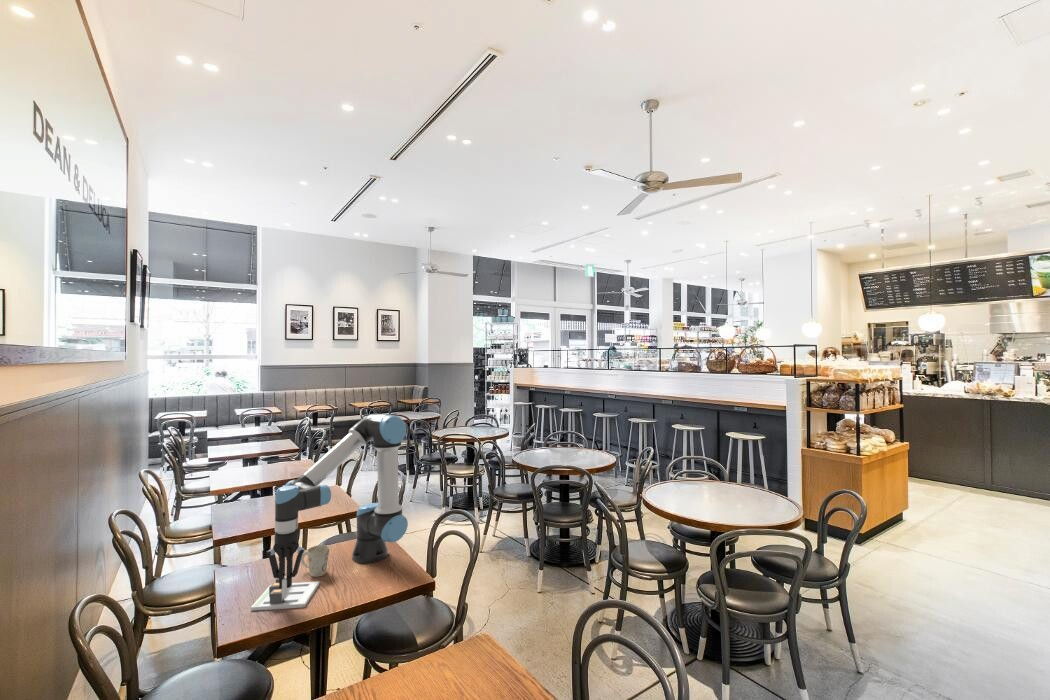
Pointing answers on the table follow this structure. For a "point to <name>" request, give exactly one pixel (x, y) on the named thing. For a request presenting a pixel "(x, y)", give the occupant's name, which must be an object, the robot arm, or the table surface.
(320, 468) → the robot arm
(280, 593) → the block
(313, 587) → the panel
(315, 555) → the mug
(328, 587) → the table surface
